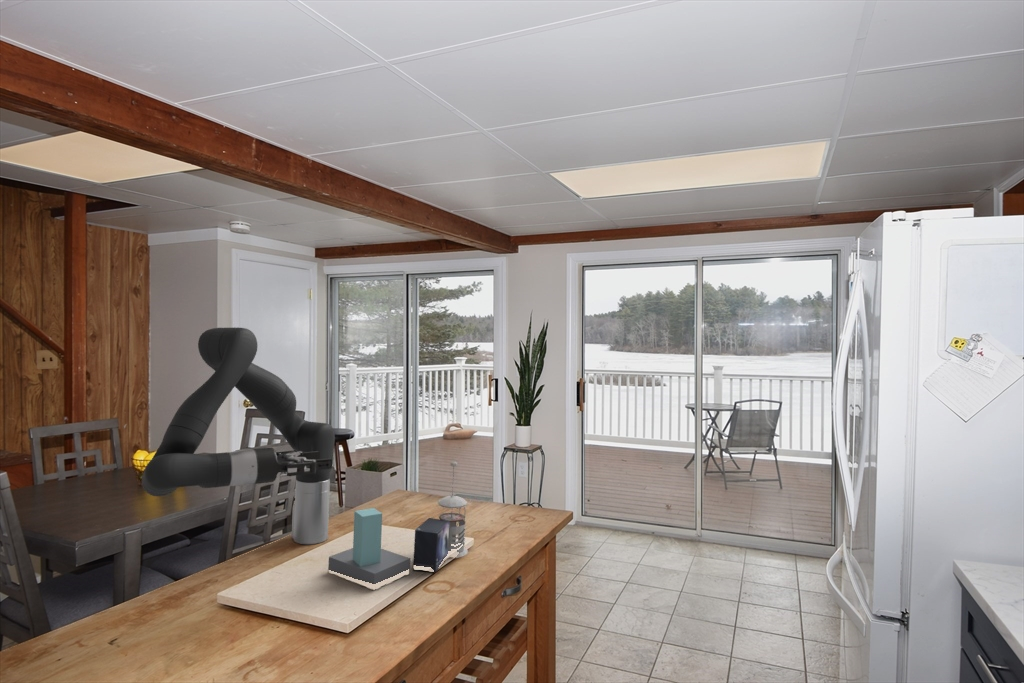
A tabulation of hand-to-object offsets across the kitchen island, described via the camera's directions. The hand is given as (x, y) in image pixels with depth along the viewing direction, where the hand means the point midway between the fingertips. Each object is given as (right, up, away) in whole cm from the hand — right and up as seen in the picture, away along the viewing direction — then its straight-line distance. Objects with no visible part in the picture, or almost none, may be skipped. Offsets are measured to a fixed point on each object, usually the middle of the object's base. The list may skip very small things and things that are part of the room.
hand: (325, 459), depth 138 cm
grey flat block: (+8, -30, +9) cm, 33 cm away
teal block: (+8, -26, +7) cm, 28 cm away
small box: (+22, -31, +17) cm, 42 cm away
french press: (+27, -31, +27) cm, 49 cm away
